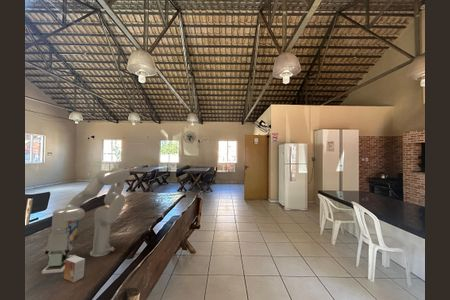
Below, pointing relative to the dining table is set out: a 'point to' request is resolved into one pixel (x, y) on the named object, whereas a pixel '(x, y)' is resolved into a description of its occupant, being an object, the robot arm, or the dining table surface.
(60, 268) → the post board
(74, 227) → the juice carton
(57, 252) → the green slotted box
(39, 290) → the dining table surface
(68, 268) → the small box
